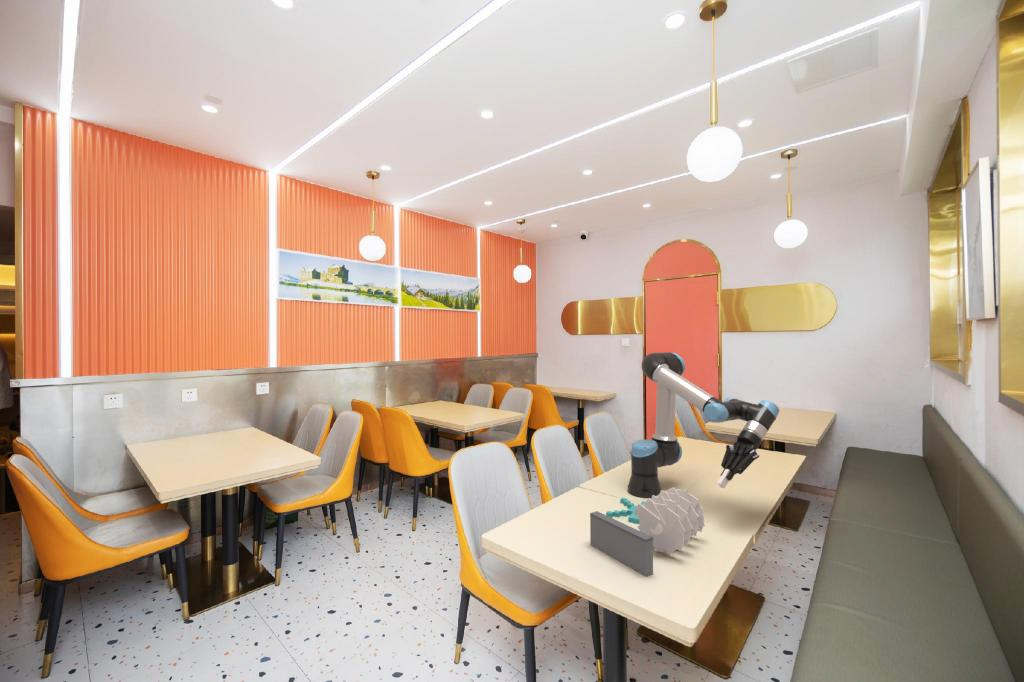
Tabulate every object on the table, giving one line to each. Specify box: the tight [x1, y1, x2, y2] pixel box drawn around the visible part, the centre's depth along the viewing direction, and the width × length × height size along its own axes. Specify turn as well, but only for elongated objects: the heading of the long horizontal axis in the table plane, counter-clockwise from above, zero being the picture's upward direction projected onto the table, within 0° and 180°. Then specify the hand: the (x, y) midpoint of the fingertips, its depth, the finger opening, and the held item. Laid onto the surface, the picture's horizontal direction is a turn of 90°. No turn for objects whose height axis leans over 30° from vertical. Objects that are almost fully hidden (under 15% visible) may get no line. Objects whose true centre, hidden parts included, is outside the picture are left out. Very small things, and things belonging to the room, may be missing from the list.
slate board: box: [589, 511, 654, 577], centre depth 138 cm, size 24×3×11 cm, turn 32°
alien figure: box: [605, 497, 646, 525], centre depth 174 cm, size 20×2×20 cm
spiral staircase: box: [634, 486, 706, 556], centre depth 148 cm, size 18×18×25 cm
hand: (720, 485), depth 157 cm, fingers closed
